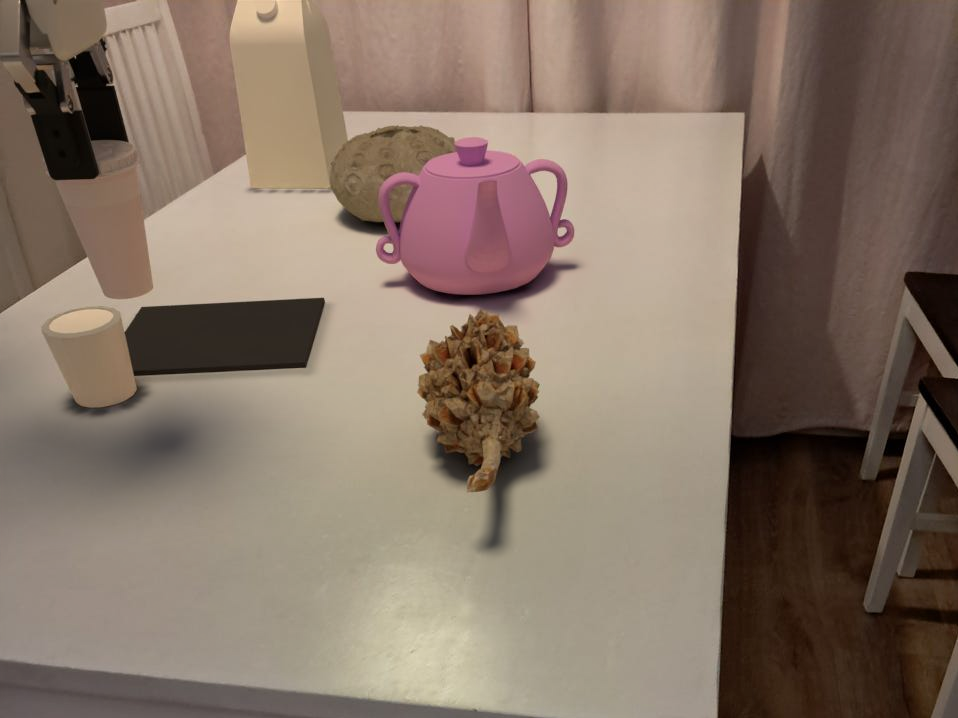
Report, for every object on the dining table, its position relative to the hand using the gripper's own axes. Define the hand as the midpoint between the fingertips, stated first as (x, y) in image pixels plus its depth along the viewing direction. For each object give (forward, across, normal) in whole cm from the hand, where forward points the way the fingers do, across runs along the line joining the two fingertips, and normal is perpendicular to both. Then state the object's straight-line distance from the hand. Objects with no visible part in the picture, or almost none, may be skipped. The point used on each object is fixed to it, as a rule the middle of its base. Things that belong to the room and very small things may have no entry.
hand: (91, 160), depth 65 cm
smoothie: (+9, 0, 0) cm, 9 cm away
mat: (+22, -20, 0) cm, 30 cm away
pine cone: (+21, +8, +27) cm, 35 cm away
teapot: (+22, -32, +27) cm, 47 cm away
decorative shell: (+22, -57, +17) cm, 64 cm away
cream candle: (+22, -9, -8) cm, 25 cm away
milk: (+22, -77, 0) cm, 80 cm away
